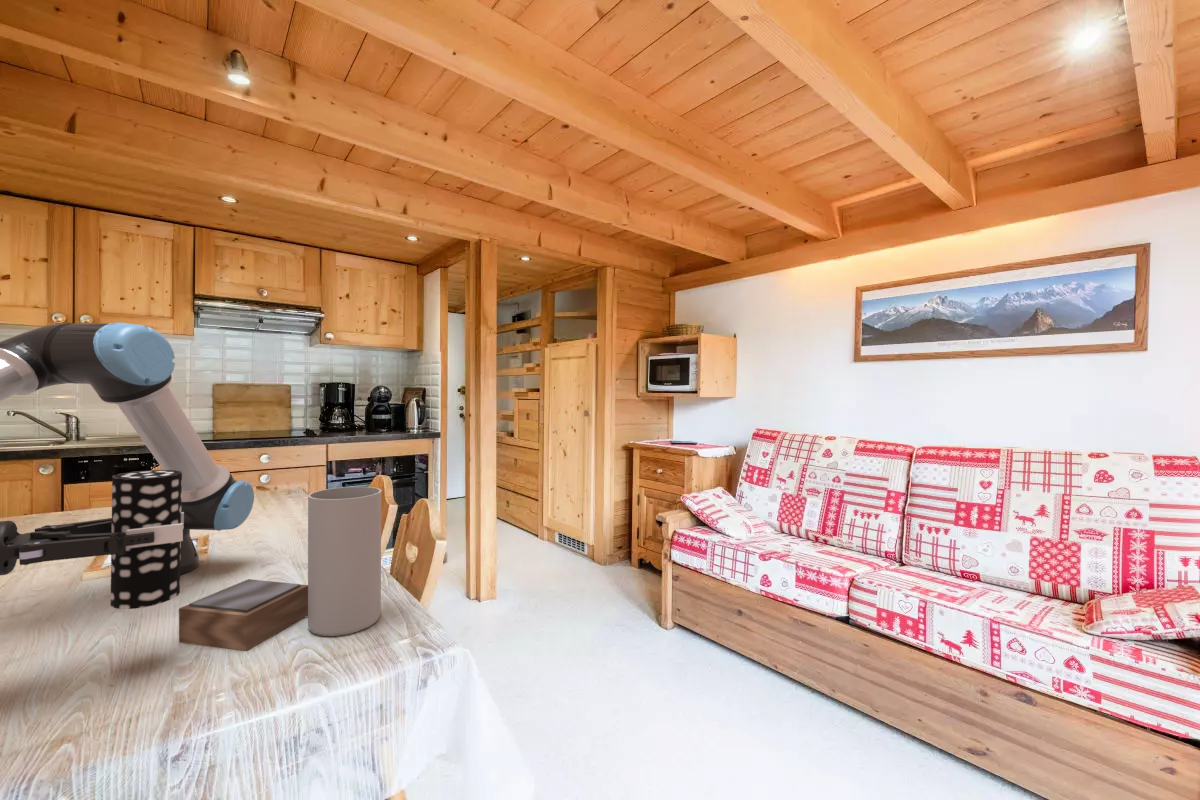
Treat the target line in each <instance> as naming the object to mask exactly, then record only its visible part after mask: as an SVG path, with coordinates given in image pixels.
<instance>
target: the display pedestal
mask: <svg viewBox="0 0 1200 800" xmlns="http://www.w3.org/2000/svg"><path fill="white" fill-rule="evenodd" d="M305 618H308V584H300V583H291V582H281V581H271V580H262V579H250V578H249V579H245V580H243V581H241V582H238V583H236V584H233V585H231V586H229V587H227V588H224V589H222V590H219V591H217V592H214V593H212V594H209V595H207V596H204V597H202V598H200V599H198V600H194V601H192V602H190V603H188V604H186V605H184V606H181V607H179V608H178V642H179V643H183V644H191V645H198V646H205V647H215V648H220V649H221V648H222V649H229V650H238V651H244V652H245V651H246V652H247V651H249V650H251V649H252V648H254V647H256V646H258V645H259V644H262V643H263V642H265V641H267V640H268V639H270V638H271V637H273V636H275V635H277V634H279V633H281V632H282V631H284V630H286V629H288V628H289V627H292V626H293V625H294V624H296V623H298V622H300V621H302V620H303V619H305Z"/></svg>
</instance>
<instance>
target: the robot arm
mask: <svg viewBox="0 0 1200 800" xmlns="http://www.w3.org/2000/svg"><path fill="white" fill-rule="evenodd" d="M173 349H174V348H173V347H172V345H171V344H170V342H169V341H168V340H167V339H166V337H165V336H163V334H162V333H160V332H159V331H157V330H155V329H154V328H153V327H152V328H151V327H149V326H146V325H142V324H136V323H135V324H133V323H129V322H112V323H102V322H101V323H95V322H94V323H93V322H92V323H91V322H90V323H87V322H86V323H85V322H84V323H83V322H82V323H80V322H60V323H54V324H48V325H45V326H41V327H38V328H35V329H32V330H28V331H26V332H23V333H20V334H16V335H14V336H11V337H9V338H6V339H4V340H1V341H0V402H2V401H4V400H6V399H8V398H10V397H11V396H14V395H16V396H26V395H30V394H32V393H34V392H36V391H38V390H41V389H43V388H46V387H51V386H57V385H67V384H77V385H78V384H81V385H84V384H85V385H90V386H91V387H92V389H93V390H94V391H95V393H96V394H97V395H98V397H99V398H100V400H102V401H103V402H104V403H106V404H110V405H111V404H112V405H116V406H118V408H119V409H120V410H121V412H122V413H123V415H124V416H125V417H126V419H127V421H128V422H129V423H130V425H131V426H132V428H133V430H134V431H135V432H136V433H137V435H138V436H139V437H140V439H141V440H142V442H143V443H144V444H145V446H146V448H147V449H148V450H149V452H150V453H151V454H152V456H153V458H154V459H155V460H156V462H157V463H158V464H159V465H160V467H161V470H176V471H181V472H182V501H181V523H180V524H171V525H163V526H155V527H147V528H138V529H129V530H127V535H126V533H125V532H118V533H112V517H109V518H102V519H94V520H87V521H80V522H72V523H71V522H70V523H64V524H54V525H50V524H47V525H46V524H45V525H44V526H41V527H37V528H34V531H31V532H25V533H19V532H18V526H17V524H16V523H15V522H14V521H12V520H1V521H0V576H6V575H8V574H11V572H13V570H15V567H16V564H17V561H18V560H19V565H20V566H27V565H30V564H31V565H32V564H37V563H42V562H52V561H53V562H54V561H61V560H62V561H63V560H70V559H71V560H72V559H80V558H89V557H100V556H108V555H109V556H111V555H114V554H116V553H117V556H120V555H124V554H126V546H127V549H128V548H136V547H143V546H150V545H158V544H165V543H172V542H180V541H181V557H180V575H183V574H185V573H189V572H191V571H193V570H195V569H196V568H198V567H199V565H200V557H199V553H198V551H197V549H196V547H195V544H194V542H193V539H192V538H191V533H190V532H191V530H196V531H197V530H198V531H200V530H201V531H218V532H219V531H224V530H233V529H236V528H239V526H241V525H242V524H243V523H245V522H246V520H247V519H248V518H249V516H250V514H251V512H252V509H253V505H254V502H255V491H254V488H253V485H252V484H251V483H250V482H248V481H245V480H243V479H241V480H240V479H239V480H236V479H234V477H233V475H232V473H231V472H230V470H229V469H228V468H227V467H226V466H224V465H219V464H216V462H215V460H214V459H213V458H212V456H211V454H210V452H209V451H208V450H207V448H206V446H205V445H204V442H203V441H202V440H201V438H200V436H199V434H198V433H197V432H196V429H195V428H194V426H193V425H192V423H191V422H190V420H189V419H188V418H189V417H188V416H187V415H186V413H185V412H184V410H183V409H182V406H181V405H180V404H179V402H178V401H177V399H176V397H175V395H174V394H173V393H172V391H171V389H170V387H169V385H170V384H171V382H172V380H173V375H172V374H173V372H174V369H175V366H176V365H175V364H176V363H175V362H174V361H173V360H174V359H175V358H176V357H175V356H176V355H175V352H174V350H173Z"/></svg>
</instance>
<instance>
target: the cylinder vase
mask: <svg viewBox="0 0 1200 800" xmlns="http://www.w3.org/2000/svg"><path fill="white" fill-rule="evenodd" d="M307 523H308V524H307V585H308V616H307V627H308V629H309V631H310V632H311V633H313V634H315V635H319V636H322V637H324V636H325V637H336V636H344V635H350V634H354V632H355V633H357V632H360V631H363V630H366V629H368V628H369V627H371V626H373V625H374V624H375V623H376V622H377V621H378V620H379V619H380V617H381V615H382V614H381V613H382V603H381V602H382V489H381V488H378V487H374V486H341V487H333V488H332V487H331V488H327V489H321V490H317V491H313V492H311V493H308V495H307Z"/></svg>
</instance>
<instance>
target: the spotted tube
mask: <svg viewBox="0 0 1200 800" xmlns="http://www.w3.org/2000/svg"><path fill="white" fill-rule="evenodd" d="M111 479H112V480H111V482H112V484H111V518H112V533H118V532H125V533H126V535H127V530H129V529H138V528H147V527H155V526H163V525H171V524H180V523H181V501H182V472H181V471H176V470H163V469H150V470H137V471H129V472H123V473H118V474H113V475H112V476H111ZM180 557H181V541H180V542H172V543H165V544H158V545H150V546H143V547H136V548H128V549H127V546H126V554H124V555H120V556H117V553H116V554H114V555H110V607H111V608H113V609H117V610H132V609H133V610H134V609H135V610H137V609H143V608H148V607H152V606H156V605H159V604H163V603H165V602H167V601H170V600H173V599H175V597H178V596H179V594H180V593H181V574H180Z"/></svg>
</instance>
